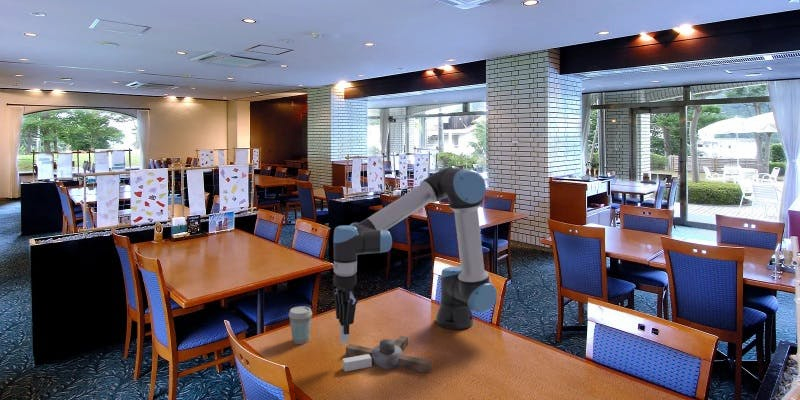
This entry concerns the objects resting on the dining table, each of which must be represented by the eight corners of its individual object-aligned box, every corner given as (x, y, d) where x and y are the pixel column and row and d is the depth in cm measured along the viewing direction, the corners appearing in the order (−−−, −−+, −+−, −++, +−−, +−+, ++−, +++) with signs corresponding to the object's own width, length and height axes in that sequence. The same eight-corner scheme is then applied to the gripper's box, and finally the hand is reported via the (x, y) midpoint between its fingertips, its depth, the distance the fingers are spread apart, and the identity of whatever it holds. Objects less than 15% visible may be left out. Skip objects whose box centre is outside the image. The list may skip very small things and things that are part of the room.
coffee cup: (307, 347, 162) (306, 315, 161) (285, 344, 164) (284, 313, 162) (316, 337, 170) (315, 306, 169) (295, 335, 172) (294, 304, 171)
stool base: (405, 342, 166) (405, 324, 166) (433, 372, 145) (434, 351, 144) (344, 353, 158) (344, 334, 157) (364, 386, 136) (364, 364, 135)
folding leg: (368, 362, 150) (368, 354, 150) (371, 366, 148) (371, 357, 147) (342, 367, 147) (342, 358, 147) (345, 371, 144) (344, 362, 144)
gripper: (325, 270, 150) (325, 337, 153) (344, 279, 140) (343, 352, 142) (345, 267, 155) (345, 332, 157) (365, 276, 144) (364, 346, 147)
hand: (344, 342), depth 150 cm, fingers closed
